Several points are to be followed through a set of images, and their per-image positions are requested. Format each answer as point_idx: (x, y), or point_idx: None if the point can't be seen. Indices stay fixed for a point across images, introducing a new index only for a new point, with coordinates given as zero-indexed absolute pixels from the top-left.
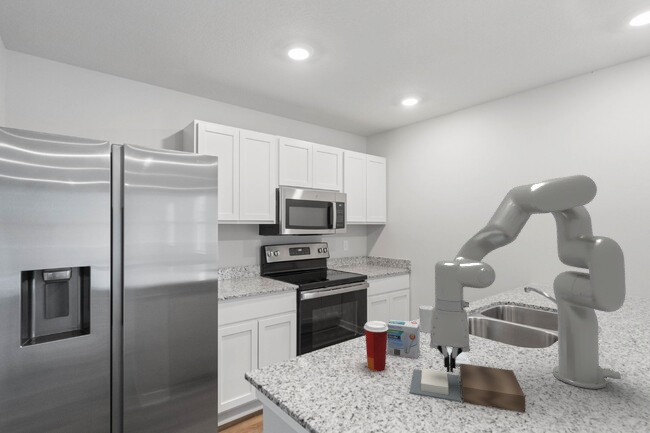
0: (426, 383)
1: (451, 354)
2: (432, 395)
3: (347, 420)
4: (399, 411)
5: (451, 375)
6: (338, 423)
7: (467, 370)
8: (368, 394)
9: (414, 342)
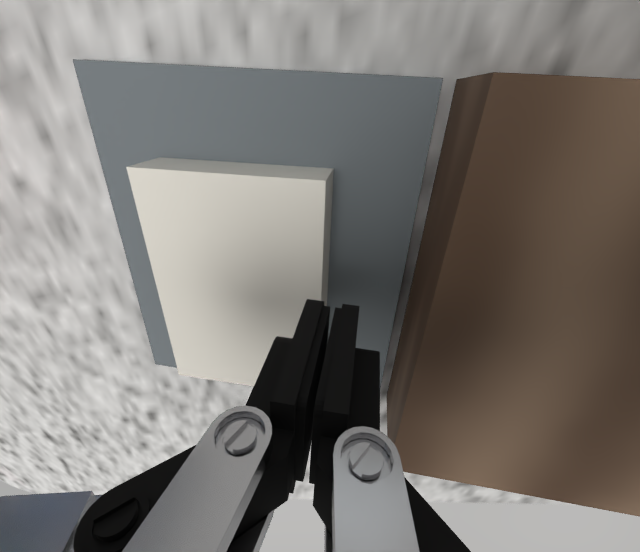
0: (204, 374)
1: (319, 514)
2: None
3: (67, 478)
4: (165, 449)
5: (377, 104)
6: (58, 485)
7: (511, 262)
8: (32, 378)
9: None
